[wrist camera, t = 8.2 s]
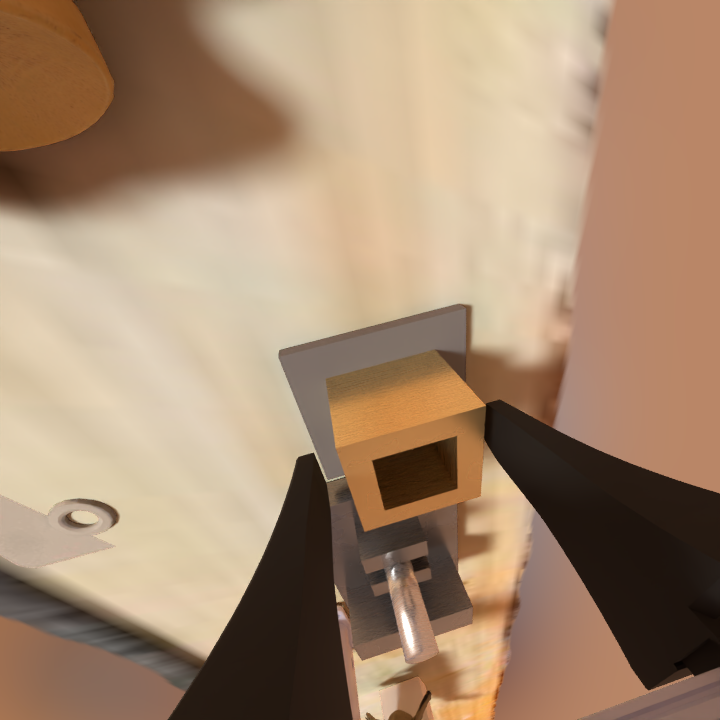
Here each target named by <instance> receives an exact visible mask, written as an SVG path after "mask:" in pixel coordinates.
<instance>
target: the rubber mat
mask: <svg viewBox="0 0 720 720" xmlns="http://www.w3.org/2000/svg"><path fill="white" fill-rule="evenodd" d="M431 350H436V351H437V352H438V353H439V355H440V356H441V357H442V358H443V359H444V360H445V361H446V362H447V363H448V364H449V366H450V367H451V368H452V369H453V370H454V371H455V372H456V373H457V374H458V376H459V377H460V378H461V379H462V380H463V381H464V382H465V383H466V308H465V307H463V306H462V305H460V304H457V305H453V306H449V307H445V308H441V309H437V310H433V311H429V312H426V313H422V314H418V315H414V316H410V317H406V318H402V319H399V320H395V321H391V322H387V323H383V324H379V325H375V326H371V327H368V328H364V329H360V330H356V331H352V332H348V333H344V334H341V335H337V336H333V337H329V338H325V339H321V340H317V341H314V342H310V343H306V344H302V345H298V346H294V347H290V348H286V349H283V350H279V360H280V362H281V365H282V367H283V370H284V372H285V375H286V377H287V380H288V382H289V385H290V387H291V390H292V392H293V395H294V397H295V400H296V402H297V405H298V407H299V410H300V412H301V414H302V417H303V419H304V422H305V424H306V427H307V429H308V432H309V434H310V437H311V439H312V442H313V444H314V447H315V449H316V452H317V454H318V457H319V459H320V462H321V464H322V467H323V469H324V472H325V474H326V477H327V479H328V480H329V479H333V478H336V477H339V476H343V475H345V474H344V471H343V468H342V465H341V462H340V459H339V456H338V453H337V451H336V447H335V440H334V433H333V426H332V420H331V413H330V406H329V399H328V392H327V386H326V378H330V377H334V376H337V375H341V374H345V373H349V372H352V371H356V370H360V369H364V368H367V367H371V366H375V365H379V364H382V363H386V362H390V361H394V360H397V359H401V358H405V357H409V356H412V355H416V354H420V353H424V352H427V351H431Z"/></svg>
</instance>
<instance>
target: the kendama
mask: <svg viewBox="0 0 720 720" xmlns="http://www.w3.org/2000/svg"><path fill="white" fill-rule="evenodd" d="M113 92H114V80H113V78H112V76H111V74H110V72H109V70H108V67H107V65H106V63H105V61H104V59H103V57H102V54H101V52H100V50H99V48H98V46H97V44H96V42H95V40H94V38H93V36H92V34H91V32H90V30H89V28H88V26H87V24H86V22H85V20H84V18H83V16H82V14H81V12H80V10H79V9H78V8H77V6H76V5H75V4H74V3H73V1H72V0H0V151H17V150H24V149H30V148H35V147H41V146H45V145H50V144H54V143H57V142H60V141H63V140H66V139H69V138H71V137H73V136H75V135H78V134H79V133H81V132H83V131H84V130H86V129H88V128H89V127H90V126H91V125H93V124H95V123H96V122H97V121H98V120H99V118H100V117H101V116H103V114H104V113H105V111H106V110H107V109H108V107H109V105H110V104H111V102H112V100H113V98H114V95H113Z"/></svg>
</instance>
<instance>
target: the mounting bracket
mask: <svg viewBox="0 0 720 720" xmlns="http://www.w3.org/2000/svg"><path fill="white" fill-rule="evenodd" d="M73 511H88V512H91V513H93V514H95V515H96V516H97V517H98V519H99V521H98V522H96V523H94V524H89V525H83V524H77V523H73V522H72V521H70V520H69V519H68V518H67V514H68V513H70V512H73ZM116 516H117V515H116V514H115V512H114V510H113V509H112V508H110V507H109V506H107V505H106V504H104V503H101V502H97V501H94V500H88V499H70V500H64V501H62V502H59V503H57V504H55V505H54V506H53V507H52V508H51V509H50V510H49V513H48V516H47V515H44V514H42V513H40V512H38V511H35V510H33V509H31V508H29V507H26V506H24V505H22V504H20V503H18V502H15V501H13V500H11V499H9V498H6V497H4V496H2V495H0V555H1V556H3V557H4V558H6V559H7V560H9V561H10V562H12V563H14V564H16V565H19V566H22V567H28V568H38V567H42V566H46V565H49V564H53V563H57V562H60V561H64V560H68V559H72V558H75V557H79V556H83V555H86V554H90V553H94V552H98V551H101V550H105V549H109V548H113V547H116V546H114V545H112V544H109V543H107V542H105V541H103V540H100V539H98V538H96V537H94V536H92V535H97V534H100V533H102V532H104V531H107V530H108V529H109V528H110V527H111V526H112V525H113V524H114V523H115V522H116Z"/></svg>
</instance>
